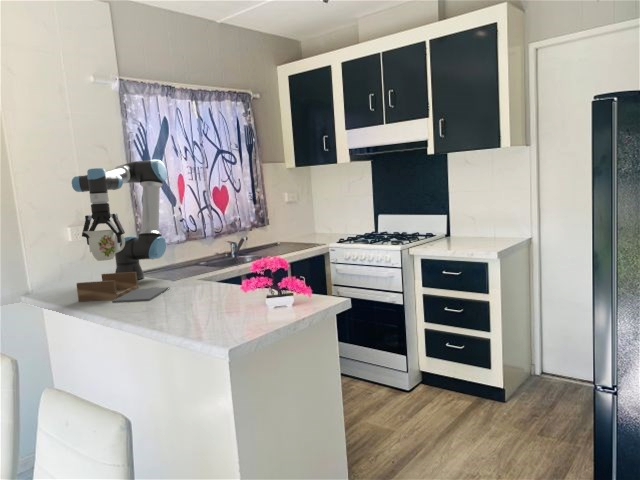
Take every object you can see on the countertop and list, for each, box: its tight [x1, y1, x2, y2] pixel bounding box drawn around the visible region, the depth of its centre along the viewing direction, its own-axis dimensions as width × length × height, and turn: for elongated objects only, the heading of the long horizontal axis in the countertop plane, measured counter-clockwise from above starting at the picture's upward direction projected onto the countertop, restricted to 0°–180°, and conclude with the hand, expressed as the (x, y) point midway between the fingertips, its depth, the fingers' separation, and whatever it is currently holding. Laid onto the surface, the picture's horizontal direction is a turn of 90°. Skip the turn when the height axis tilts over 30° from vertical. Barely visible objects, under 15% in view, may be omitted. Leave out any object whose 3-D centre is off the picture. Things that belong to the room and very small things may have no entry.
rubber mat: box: [111, 286, 170, 304], centre depth 215 cm, size 24×16×1 cm, turn 178°
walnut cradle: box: [76, 272, 139, 302], centre depth 222 cm, size 24×16×8 cm
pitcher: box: [84, 229, 125, 262], centre depth 220 cm, size 11×18×14 cm, turn 137°
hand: (105, 251), depth 220 cm, fingers closed on pitcher, 11 cm apart
